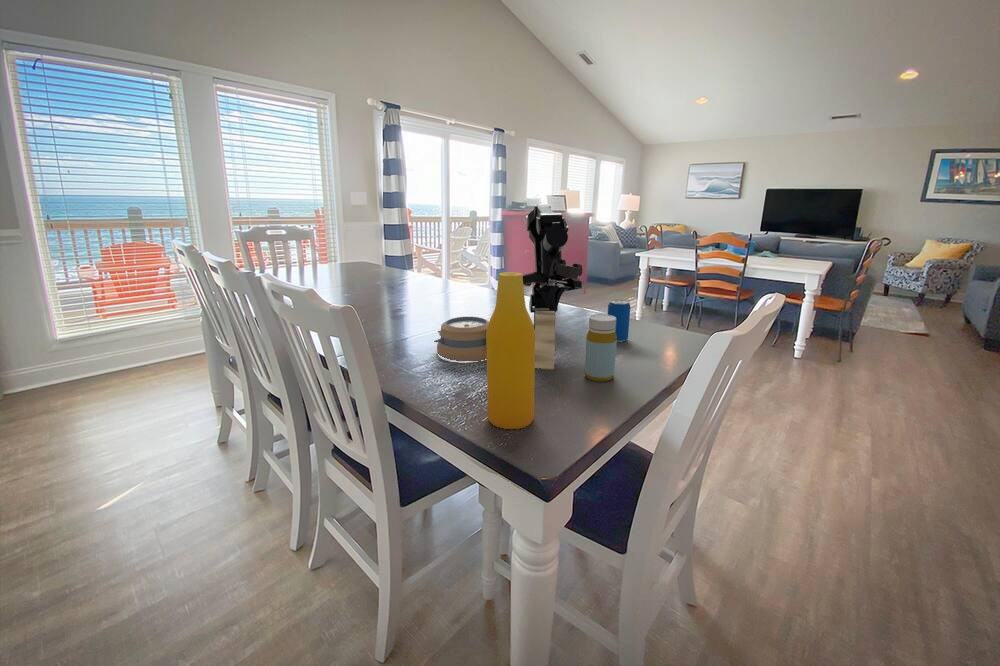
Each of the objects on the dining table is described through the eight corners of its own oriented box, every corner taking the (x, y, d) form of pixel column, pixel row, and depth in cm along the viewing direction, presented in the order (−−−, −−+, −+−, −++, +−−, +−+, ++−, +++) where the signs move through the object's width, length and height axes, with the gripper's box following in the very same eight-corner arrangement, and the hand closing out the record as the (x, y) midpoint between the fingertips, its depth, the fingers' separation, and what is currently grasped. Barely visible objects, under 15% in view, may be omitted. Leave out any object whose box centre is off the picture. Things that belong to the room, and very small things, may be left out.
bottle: (615, 373, 110) (619, 314, 106) (612, 384, 104) (616, 322, 100) (586, 370, 112) (589, 312, 108) (582, 380, 106) (585, 320, 102)
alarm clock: (438, 314, 131) (516, 313, 132) (440, 344, 134) (516, 342, 134) (431, 331, 115) (520, 329, 115) (433, 364, 118) (520, 363, 118)
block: (534, 361, 119) (535, 310, 115) (553, 361, 118) (554, 310, 114) (534, 368, 114) (535, 315, 110) (554, 369, 113) (555, 316, 109)
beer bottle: (479, 425, 86) (475, 276, 77) (499, 405, 94) (497, 268, 85) (524, 435, 82) (525, 279, 74) (540, 413, 90) (543, 271, 82)
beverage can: (625, 336, 139) (628, 299, 135) (629, 343, 132) (632, 304, 129) (604, 336, 139) (607, 298, 136) (607, 342, 133) (609, 303, 130)
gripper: (548, 245, 112) (550, 307, 111) (595, 256, 124) (598, 311, 123) (519, 255, 121) (520, 312, 119) (566, 264, 133) (567, 316, 131)
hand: (553, 312), depth 123 cm, fingers closed
